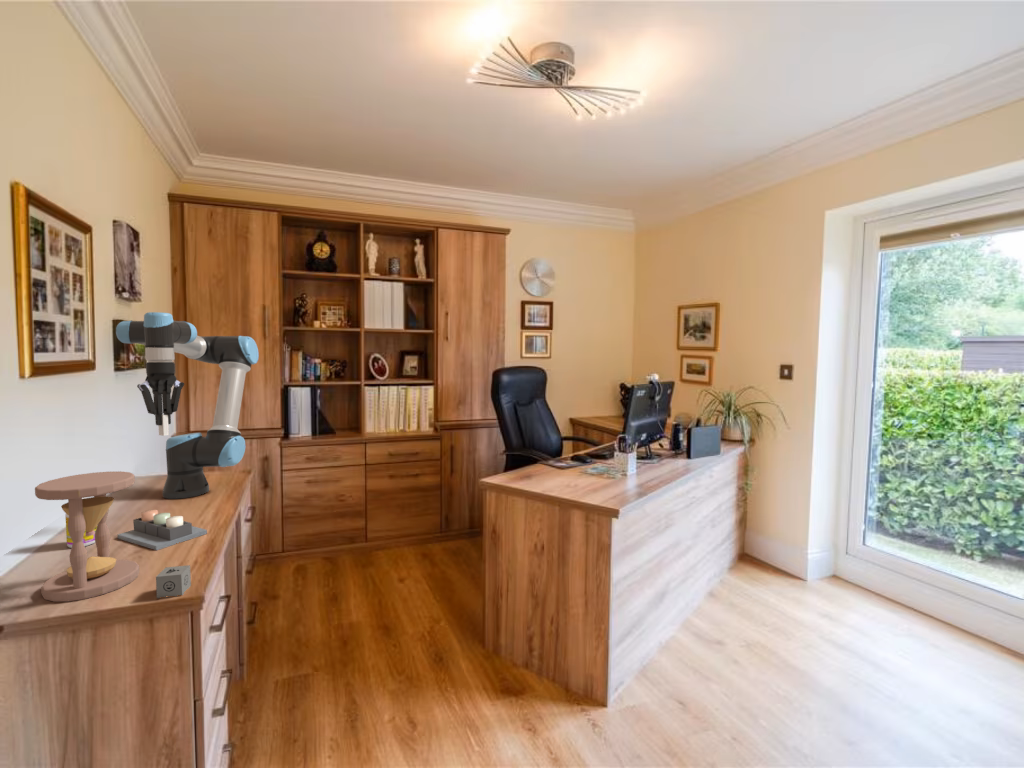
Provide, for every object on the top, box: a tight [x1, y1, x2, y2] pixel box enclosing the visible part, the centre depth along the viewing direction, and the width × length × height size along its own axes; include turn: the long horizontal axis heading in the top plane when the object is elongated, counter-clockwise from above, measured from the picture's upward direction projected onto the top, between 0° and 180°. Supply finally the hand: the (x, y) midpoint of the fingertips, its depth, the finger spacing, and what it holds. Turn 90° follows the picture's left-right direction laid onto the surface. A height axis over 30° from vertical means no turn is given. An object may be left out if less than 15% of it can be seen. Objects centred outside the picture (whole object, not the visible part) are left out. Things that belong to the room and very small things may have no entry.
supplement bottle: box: [65, 498, 97, 549], centre depth 140 cm, size 7×7×13 cm
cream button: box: [166, 515, 184, 529], centre depth 144 cm, size 4×4×4 cm
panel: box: [117, 517, 208, 551], centre depth 147 cm, size 14×20×4 cm
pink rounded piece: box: [140, 509, 159, 522], centre depth 149 cm, size 4×4×4 cm
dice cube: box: [155, 564, 192, 599], centre depth 112 cm, size 5×5×5 cm
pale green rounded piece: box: [153, 512, 171, 525], centre depth 147 cm, size 4×4×4 cm
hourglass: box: [34, 470, 140, 603], centre depth 116 cm, size 18×18×25 cm
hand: (163, 435), depth 158 cm, fingers closed
